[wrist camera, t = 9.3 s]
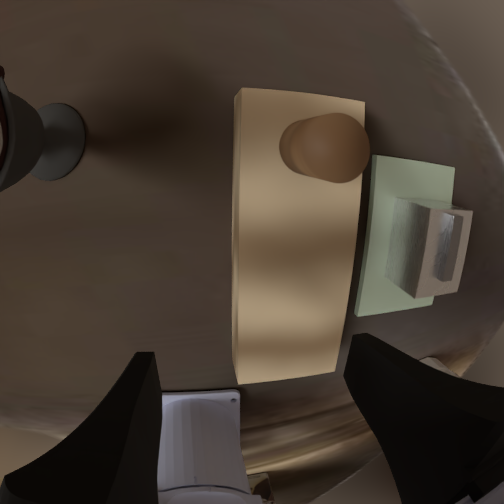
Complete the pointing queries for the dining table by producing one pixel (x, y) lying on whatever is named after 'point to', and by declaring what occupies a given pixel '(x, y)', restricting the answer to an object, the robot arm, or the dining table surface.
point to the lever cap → (427, 246)
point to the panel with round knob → (293, 229)
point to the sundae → (37, 139)
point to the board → (380, 222)
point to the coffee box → (261, 487)
